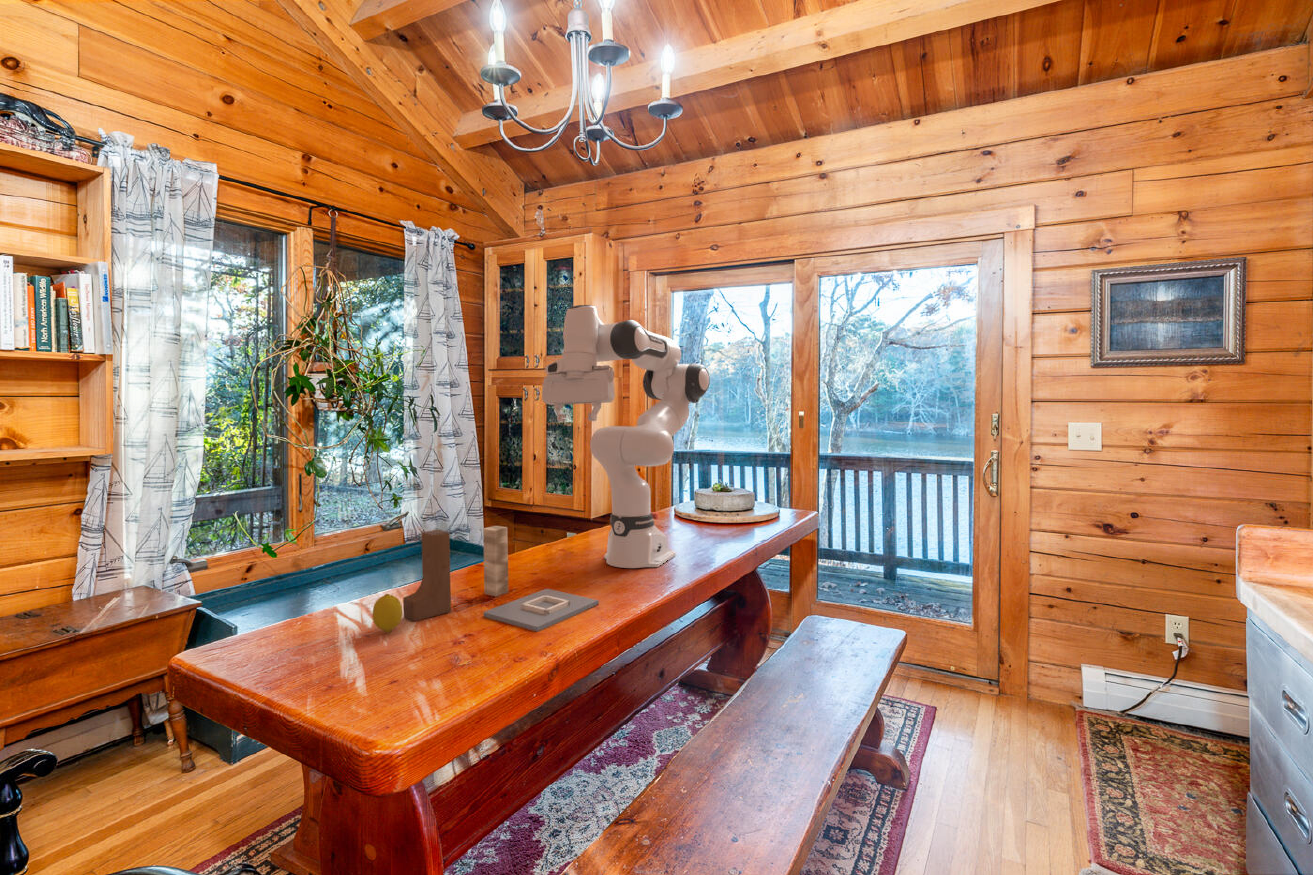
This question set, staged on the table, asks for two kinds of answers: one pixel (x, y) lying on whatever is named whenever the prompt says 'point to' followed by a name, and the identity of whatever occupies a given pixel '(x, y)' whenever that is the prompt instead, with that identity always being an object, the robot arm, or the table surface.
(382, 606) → the lemon
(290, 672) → the table surface
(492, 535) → the birch column
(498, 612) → the base board
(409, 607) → the brown boot
